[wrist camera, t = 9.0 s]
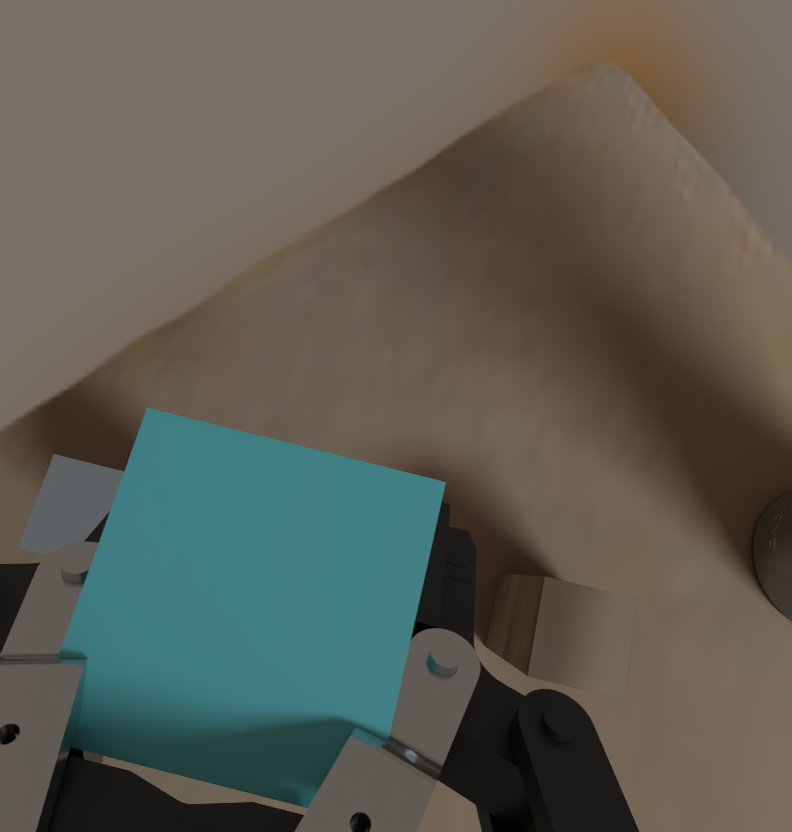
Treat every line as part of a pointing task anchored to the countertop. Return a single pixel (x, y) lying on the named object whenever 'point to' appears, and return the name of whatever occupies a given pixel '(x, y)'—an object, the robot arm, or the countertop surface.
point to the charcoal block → (69, 504)
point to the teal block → (248, 606)
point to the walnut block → (564, 632)
